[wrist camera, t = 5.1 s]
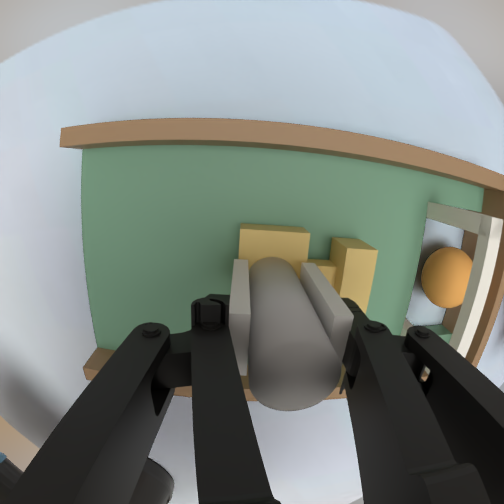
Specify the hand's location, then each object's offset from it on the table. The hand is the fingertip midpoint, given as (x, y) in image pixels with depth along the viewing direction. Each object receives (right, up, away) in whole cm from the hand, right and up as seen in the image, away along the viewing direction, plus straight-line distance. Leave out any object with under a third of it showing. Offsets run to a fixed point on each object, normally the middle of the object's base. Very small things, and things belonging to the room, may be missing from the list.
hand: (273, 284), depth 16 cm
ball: (+15, 0, +3) cm, 15 cm away
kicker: (+2, +1, +3) cm, 3 cm away
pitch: (+3, +1, +5) cm, 6 cm away
